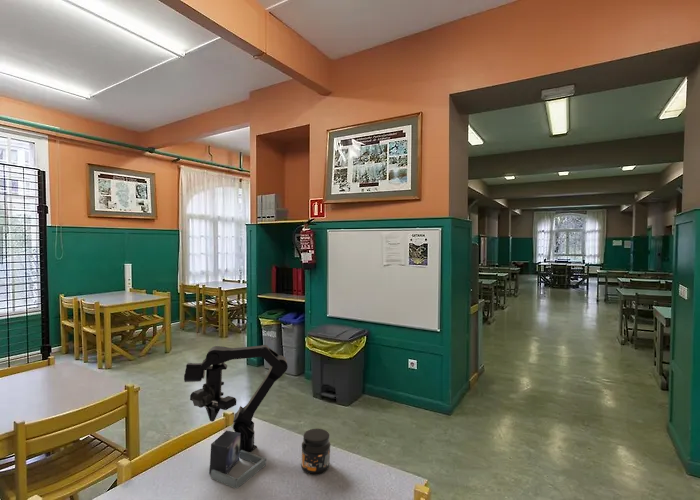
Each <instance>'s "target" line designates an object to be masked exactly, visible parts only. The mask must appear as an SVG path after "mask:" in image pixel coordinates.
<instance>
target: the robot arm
mask: <svg viewBox="0 0 700 500" xmlns="http://www.w3.org/2000/svg"><path fill="white" fill-rule="evenodd" d="M252 358H263V359H264V360H265V362H266V363H268V364H269V368H268V372H267V373H266V375H265V377H264V379H263V380H262V381H261V383H260V385H259V386H258V387H257V388H256V390H255V392H254V394H253V395H252V397H251V398H250V400H249V401H248V402H247V404H246V405H245V406H244V407H243V406H242V405H240V406H239V409H238V410H237V412H235V413H234V416H233V425H232V430H233V432H238V433H241V437H240V451H241V450H244V451H247V452H249V453H252V452H253V451H255V450H256V449H257V448H258V446H257V445H255V422H254V421H253V418H254V414H255V413H256V411H257V409H258V408H259V406H260V405H261V404H262V402H263V401H264V399H265V397H266V396H267V394H268V393H269V392H270V389H271V388H272V387H273V385H274V383H276V381H277V380H279V379H281V377H283V375H284V374H285V373H286V372H287V371H288V367H289V366H288V361H287V358H286V356H283V355H279V354H278V353H277V351H275V350H273V349H271V348H270V347H269V346H268V345H267V344H262V345H253V346H244V347H243V346H242V347H227V346H220V345H219V346H218V345H215V346H212V347H211V348H210V349H208V351H207V354H206V355H205V358H204V359H203V361H202V362H200V363H198V362H195V363H192V362H187V363H186V365H185V372H184V375H183V380H184V381H183V382H184V383H193V382H194V383H195V382H199V383H200V382H201V381H202V380H203V379H205V383H203V384H202V388H200V389H197V390H195V391H193V392H191V394H190V395H189V400H190V401H191V402H192V405H193V407H199V408H200V409H201V408H205V410H206V413H207V415H208V419H209V422H215V421H216V418H217V416H218V414H219V412H220V411H221V410H222V411H227V410H229V409H231V408H233V407H234V406H236V405H237V398H236V397H233V396H230V395H227V396H225V397H222V396H224V392H223V391H222V386H224V385H225V382H224V381H223V380H222V379H223V371H224V370H227V368H228V364H226V362H229V361H231V360H242V359H243V360H244V359H252Z"/></svg>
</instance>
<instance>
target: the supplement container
mask: <svg viewBox="0 0 700 500" xmlns="http://www.w3.org/2000/svg"><path fill="white" fill-rule="evenodd" d="M330 457H331V442H330V433H329V431H327V430H325V429H323V428H311V429H308V430H306V431H305V432H304V433H303V438H302V442H301V460H300V467H301V470H302V471H303V472H304V473H306V474H308V475H311V476H318V475H322V474H324V473H326V472H327V471H328V470H329V469H330V464H331V463H330V462H331V460H330V459H331V458H330Z"/></svg>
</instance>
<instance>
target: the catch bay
mask: <svg viewBox="0 0 700 500" xmlns="http://www.w3.org/2000/svg"><path fill="white" fill-rule="evenodd" d="M239 459H242V460H245V461H247V462H250V463H254V464H253V465H252V466H251V467H250V468H249V469H247V470H246V471H245V472H243V473H242V474H241V475H240V476H238V477H237V478H236V477H234V476H231V475H229V474H227V475H226V474H224V473H221V472H219V471H216V470H214V469H213V470H212V471H211V474H210V479H212V480H214V481H217V482H219V483H220V484H224V485H226V486H229V487H231V488H233V489H236V490H237V489H239V487H241V486H242V485H243V484H244V483H246V482H247V481H248V480H249V479H251V477H253V476H254V475H255V474H257V473H258V472H259V471H260V470H261V469H264V467H266V465H267V458H266V457H263V456H260V455H257V454H255V453H252V452H250V453H249V452H247V451H244V450H241V451H240V457H239Z"/></svg>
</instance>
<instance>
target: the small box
mask: <svg viewBox="0 0 700 500" xmlns="http://www.w3.org/2000/svg"><path fill="white" fill-rule="evenodd" d="M240 437H241V433H238V432H235V431H231V430H225V431H224V432H223V433H222V434H221V435H220V436H218V437H217V438H216V439H215V440H214V441H213V442H212V443H210V452H209V453H210V456H209V457H210V458H209V472H208V474H209V475H211V471H212V470H213V469H214V470H216V471H219V472H221V473H224V474H226V475H228V474H229V473H230V471H231V470H232V469H233V468H234V467H235V466H236V465H237V464H238V462H239V461H240Z"/></svg>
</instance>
